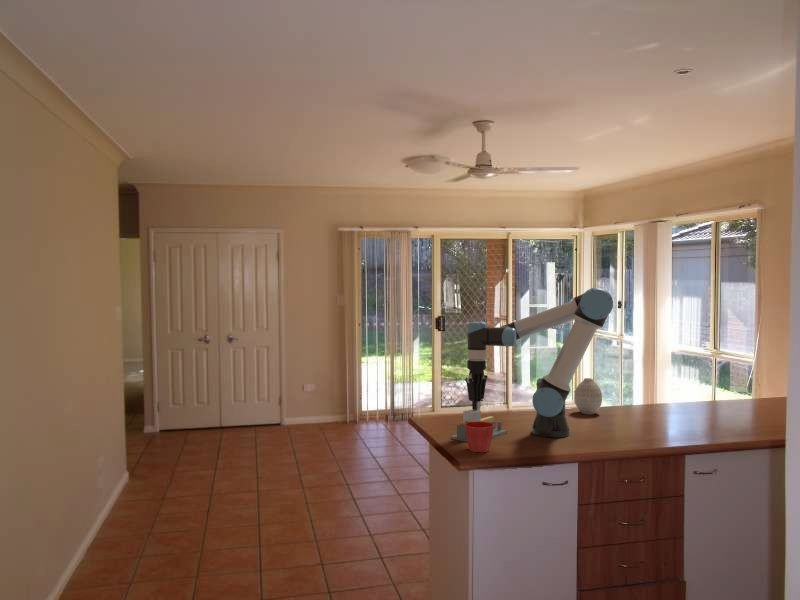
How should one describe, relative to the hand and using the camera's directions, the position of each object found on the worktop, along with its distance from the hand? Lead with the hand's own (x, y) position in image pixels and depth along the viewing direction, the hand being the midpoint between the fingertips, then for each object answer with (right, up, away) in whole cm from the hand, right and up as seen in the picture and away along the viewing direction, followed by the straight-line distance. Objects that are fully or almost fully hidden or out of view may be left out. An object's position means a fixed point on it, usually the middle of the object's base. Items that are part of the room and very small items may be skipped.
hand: (476, 417), depth 260 cm
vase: (+59, -7, +45) cm, 75 cm away
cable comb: (+1, -8, 0) cm, 8 cm away
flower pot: (-1, -9, -21) cm, 23 cm away
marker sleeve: (-2, -5, -2) cm, 6 cm away
